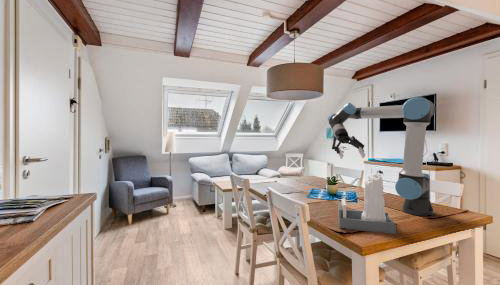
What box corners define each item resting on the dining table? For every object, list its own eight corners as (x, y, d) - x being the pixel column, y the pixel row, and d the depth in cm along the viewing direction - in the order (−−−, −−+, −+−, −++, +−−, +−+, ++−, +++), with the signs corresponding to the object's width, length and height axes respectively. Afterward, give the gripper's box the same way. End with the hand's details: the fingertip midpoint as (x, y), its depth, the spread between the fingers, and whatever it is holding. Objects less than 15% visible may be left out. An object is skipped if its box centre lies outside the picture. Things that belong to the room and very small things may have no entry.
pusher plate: (344, 217, 126) (344, 198, 126) (346, 225, 114) (346, 205, 114) (340, 216, 127) (340, 198, 127) (341, 225, 115) (341, 204, 114)
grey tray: (387, 222, 121) (387, 205, 121) (395, 234, 106) (395, 214, 106) (338, 217, 129) (338, 201, 129) (339, 228, 114) (339, 210, 113)
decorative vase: (374, 229, 109) (374, 176, 109) (357, 222, 119) (356, 173, 119) (391, 226, 113) (391, 174, 112) (373, 219, 123) (372, 172, 123)
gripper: (356, 136, 156) (370, 160, 142) (320, 136, 154) (330, 161, 139) (360, 127, 151) (375, 152, 136) (323, 128, 148) (335, 153, 134)
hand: (353, 156), depth 137 cm, fingers open, 13 cm apart
